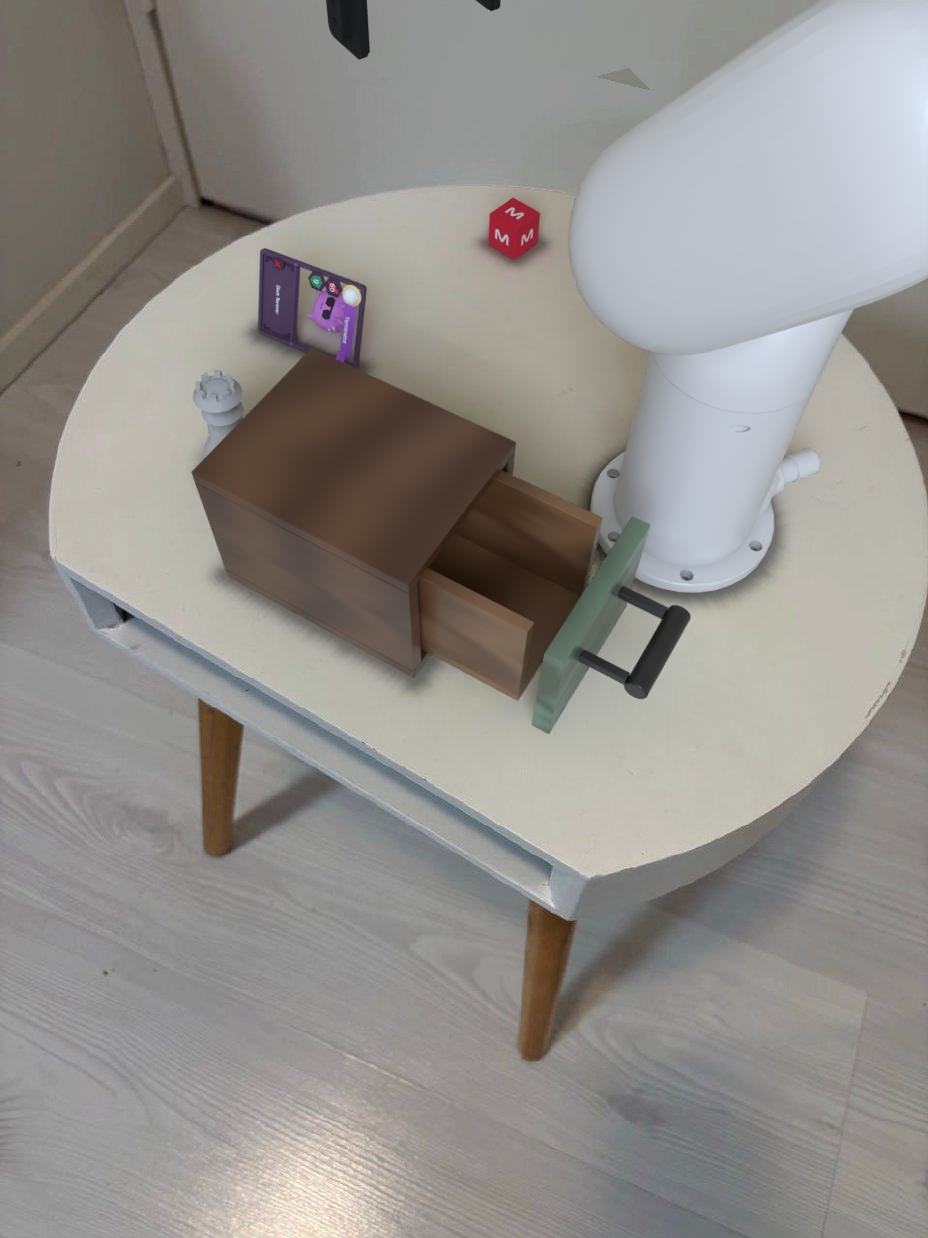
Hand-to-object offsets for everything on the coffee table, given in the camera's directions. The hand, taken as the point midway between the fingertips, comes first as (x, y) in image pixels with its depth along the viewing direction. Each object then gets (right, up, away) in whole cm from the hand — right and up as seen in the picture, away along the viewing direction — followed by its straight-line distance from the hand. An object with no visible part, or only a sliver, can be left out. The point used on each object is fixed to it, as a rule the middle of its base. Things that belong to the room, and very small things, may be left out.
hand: (417, 23), depth 60 cm
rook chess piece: (-13, -26, +10) cm, 31 cm away
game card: (-8, -14, +17) cm, 24 cm away
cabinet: (-4, -33, +6) cm, 34 cm away
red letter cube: (+7, -5, +23) cm, 24 cm away
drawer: (+7, -38, +2) cm, 38 cm away
